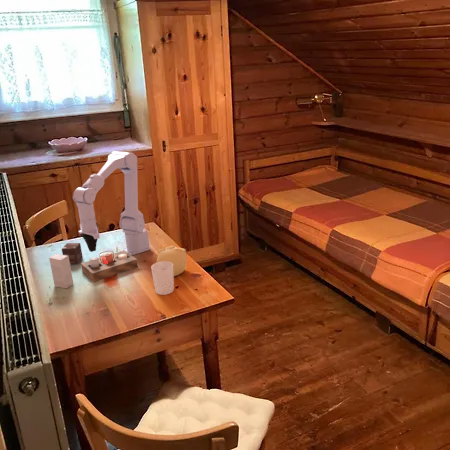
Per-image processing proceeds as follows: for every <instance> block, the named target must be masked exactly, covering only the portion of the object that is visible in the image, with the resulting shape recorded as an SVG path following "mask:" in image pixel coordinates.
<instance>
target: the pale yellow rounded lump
mask: <svg viewBox="0 0 450 450" xmlns="http://www.w3.org/2000/svg"><path fill="white" fill-rule="evenodd" d="M157 252H158V254H157V258H156V263H157V262H162V261H167V262H171V263H172V264H173V272H174V277H176V276H178V275H180V274H182V273H184V271H185V270H186V266H187V262H188V261H187V259H188V258H187V250H186V248H183V247H177V246H176V245H169V246H166V247H163V248H160V249H158V250H157Z"/></svg>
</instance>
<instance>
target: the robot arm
mask: <svg viewBox="0 0 450 450" xmlns="http://www.w3.org/2000/svg"><path fill="white" fill-rule="evenodd" d="M117 169H118V170H120V171H121V172H122V173H123V174H124V176H123V177H124V211H122V212H121V213H120V219H119V227H120V229H121V230H122V232H123V233H124V238H125V239H124V240H125V244H126V248H124V249H123V250H122V251H126V252H127V253H129V254H130V255H132V256H134V255H137V254H140V253H144V252H147V251H150V250H151V247H150V240H149V234H148V232H147V229H146V228H145V226H146V223H145V219H144V214H143V213H142V212H141V211H140V210H139V202H138V197H139V196H138V194H139V193H138V192H139V191H138V190H139V189H138V185H139V184H138V181H139V180H138V156H137V155H136V154H135V153H134V152H127V151H126V152H125V151H116V150H114V151H112V152H110V154H109V155H108V156H107V160H106V162H105V164H104V165H102V167H101V168H100V170H99V171H98V172H97V174H96V173H93V174H91V175H89V178H88V179H86V181H85V182H84V183H83V184H82V186H81V187H77V188H76V189H75V190H74V191H73V195H72V200H73V202H75V206H76V207H77V209H78V211H77V212H78V216H79V217H78V218H79V222H80V224H79V228H80V230H78V234H80V235H81V237H82V238H83V240H84V241H85V244H86V246H87V248H88V251H89V252H90V253H93V252H95V251H96V250H97V243H98V239H101V237H100V236H101V235H100V232H99V231H98V226H97V221H96V220H97V219H96V214H95V209H94V207H95V206H94V202H95V200H96V198H97V197H96V196H97V194H98V192H99V191H100V190H101V189H102V188H103V187H104V185H105V180H106V179H107V178H108V177H109V176H110V175H111V174H112V173H113V172H114V171H115V170H117Z"/></svg>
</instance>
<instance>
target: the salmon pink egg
mask: <svg viewBox="0 0 450 450" xmlns="http://www.w3.org/2000/svg"><path fill="white" fill-rule="evenodd" d="M110 253H111V254H110V255H108V256H105V257H106V260H107V261H108V264H110V263H113V262H114V261H113V254H114V253H112V252H110Z"/></svg>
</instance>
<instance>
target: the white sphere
mask: <svg viewBox="0 0 450 450" xmlns="http://www.w3.org/2000/svg"><path fill="white" fill-rule="evenodd" d="M99 258H100V257H99V256H93V257H90V258H89V260H88V261H90V266H91V269H94V268H97V267H100V265H99Z"/></svg>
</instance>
